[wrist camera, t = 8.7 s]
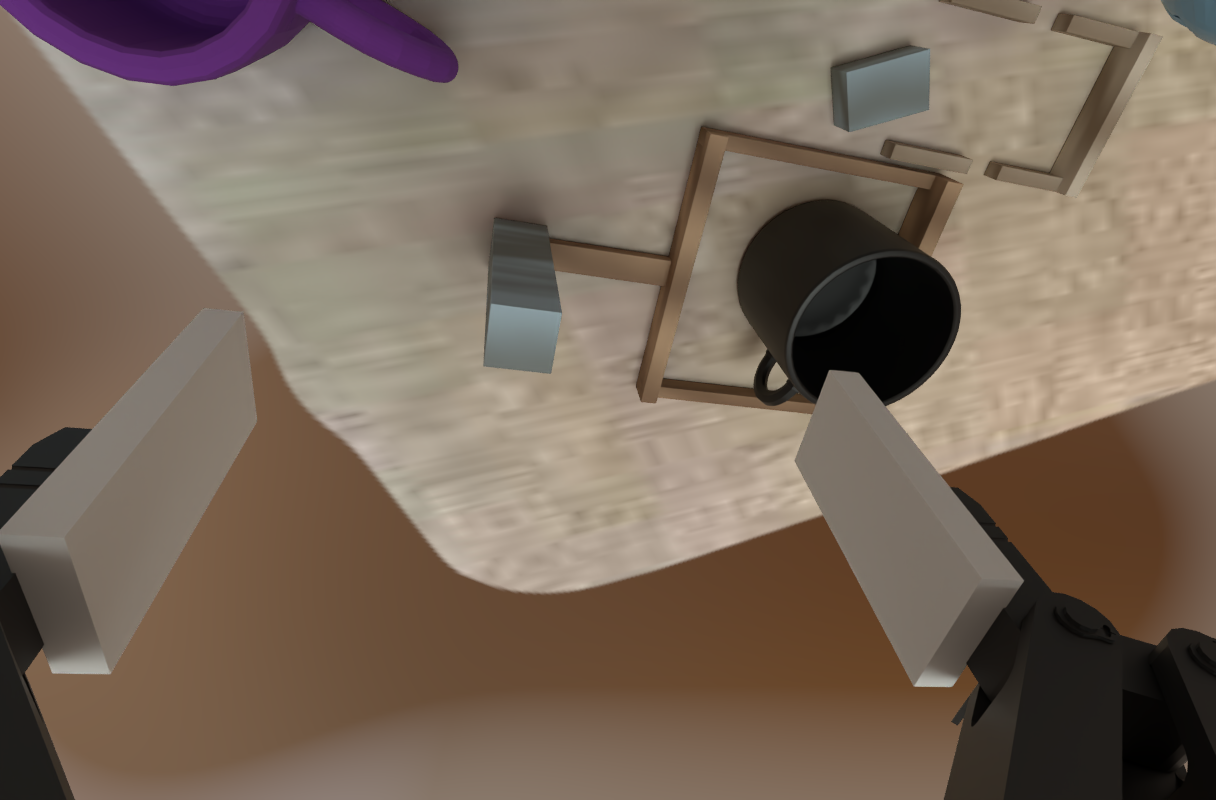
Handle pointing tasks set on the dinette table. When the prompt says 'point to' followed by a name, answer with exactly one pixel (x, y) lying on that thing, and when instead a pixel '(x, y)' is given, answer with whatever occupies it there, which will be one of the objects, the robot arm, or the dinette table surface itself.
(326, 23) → the mug
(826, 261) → the mug
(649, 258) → the wooden frame with post
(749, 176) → the dinette table surface
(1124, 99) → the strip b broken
